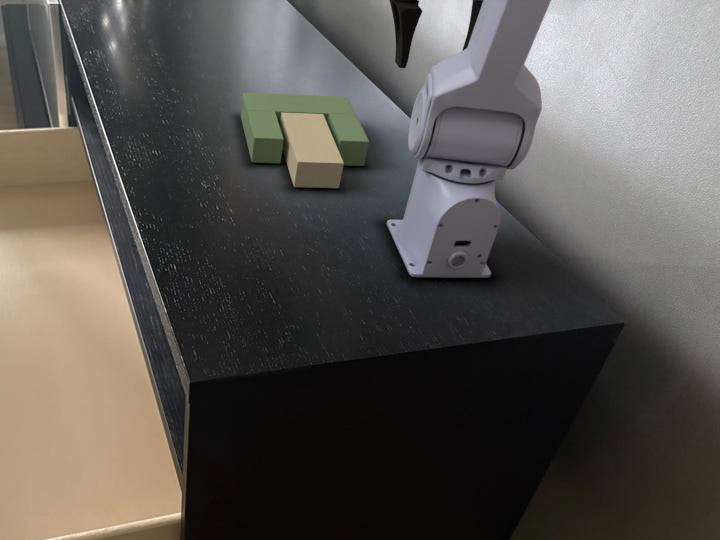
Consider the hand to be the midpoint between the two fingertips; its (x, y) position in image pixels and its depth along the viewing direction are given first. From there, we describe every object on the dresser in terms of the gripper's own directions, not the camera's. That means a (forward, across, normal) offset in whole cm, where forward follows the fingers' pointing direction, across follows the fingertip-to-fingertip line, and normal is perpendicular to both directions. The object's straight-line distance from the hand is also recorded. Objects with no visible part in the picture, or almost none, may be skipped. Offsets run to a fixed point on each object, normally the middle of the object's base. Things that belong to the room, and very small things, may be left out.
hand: (432, 66), depth 85 cm
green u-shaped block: (+9, +14, 0) cm, 17 cm away
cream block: (+9, +14, +5) cm, 18 cm away
